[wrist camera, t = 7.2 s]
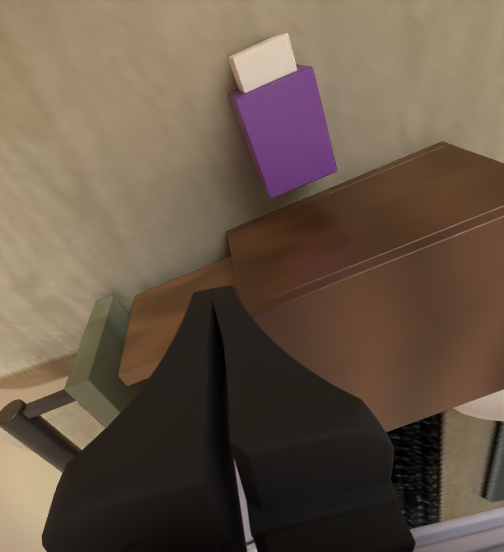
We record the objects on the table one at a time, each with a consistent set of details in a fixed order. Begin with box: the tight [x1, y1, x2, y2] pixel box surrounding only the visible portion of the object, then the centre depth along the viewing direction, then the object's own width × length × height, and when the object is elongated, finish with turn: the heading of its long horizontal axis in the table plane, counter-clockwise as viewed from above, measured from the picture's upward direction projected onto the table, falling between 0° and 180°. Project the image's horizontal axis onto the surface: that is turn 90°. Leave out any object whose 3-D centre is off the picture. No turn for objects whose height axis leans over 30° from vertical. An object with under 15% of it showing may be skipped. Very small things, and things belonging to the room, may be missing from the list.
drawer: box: [0, 257, 241, 473], centre depth 21 cm, size 18×10×7 cm, turn 110°
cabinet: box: [226, 142, 504, 432], centre depth 20 cm, size 13×11×8 cm
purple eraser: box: [228, 33, 337, 199], centre depth 17 cm, size 6×3×3 cm, turn 20°
